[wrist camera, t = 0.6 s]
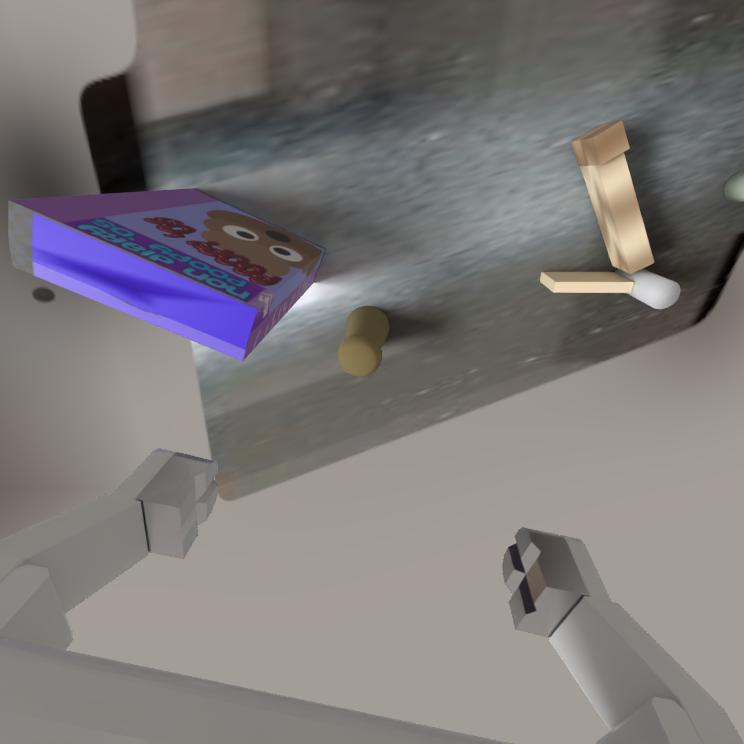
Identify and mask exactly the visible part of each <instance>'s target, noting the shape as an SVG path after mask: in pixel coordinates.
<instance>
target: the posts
mask: <svg viewBox="0 0 744 744" xmlns="http://www.w3.org/2000/svg"><path fill="white" fill-rule="evenodd" d="M724 196H725V198H726V199H728V200H730V201H737V202H744V170H743V171H740V172H737V173H736V174H734V175H733V176H732V177H731V178H730V179H729V180H728V181H727V183H726V184H725V187H724ZM540 282H541V283H542V284H544V285H545V286H546V287H547V288H549V289H550V290H551V291H552V292H571V293H627V294H629V295H631V296H633V297H635V298H637V299H638V300H640V301H642V302H644V303H646V304H647V305H649V306H651V307H653V308H655V309H664V308H667V307H669V306H671V305H672V304H674V303H675V302H676V300H677V299H678V298H679V295H680V286H679V285H678V284H677V283H676V282H674V281H671V280H669V279H666V278H664V277H662V276H659V275H657V274H654V273H652V272H649V271H647V270H644V269H640V270H638V271H636V272H634V273H632V274H629V273H627V272H625V271H623V270H620V269H617V270H616V271H615V272H542V273H541V278H540Z"/></svg>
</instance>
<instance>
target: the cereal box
mask: <svg viewBox="0 0 744 744" xmlns="http://www.w3.org/2000/svg"><path fill="white" fill-rule="evenodd" d="M8 213H9V214H8V218H9V219H8V224H9V225H8V238H9V247H10V252H11V257H12V264H13V267H15V268H17V269H20V270H22V271H24V272H27V273H29V274H32V275H34V276H37V277H39V278H41V279H44V280H46V281H49V282H51V283H54V284H56V285H58V286H61V287H63V288H66V289H68V290H71V291H73V292H76V293H78V294H80V295H83V296H85V297H88V298H90V299H92V300H95V301H97V302H100V303H102V304H105V305H107V306H109V307H112V308H114V309H117V310H119V311H122V312H124V313H127V314H129V315H131V316H134V317H136V318H139V319H141V320H144V321H146V322H149V323H151V324H153V325H156V326H158V327H160V328H163V329H165V330H168V331H171V332H173V333H175V334H177V335H180V336H182V337H185V338H187V339H190V340H192V341H194V342H197V343H199V344H202V345H204V346H207V347H209V348H211V349H214V350H216V351H219V352H221V353H224V354H226V355H228V356H231V357H233V358H236V359H238V360H241V361H243V360H244V359H245V358H246V357H247V356H248V355H249V354H250V353H251V351H252V350H253V349H254V348H255V347H256V346H257V345H258V344H259V343H260V341H261V340H262V339H263V338H264V337H265V336H266V335H267V334H268V333H269V332H270V330H271V329H272V328H273V327H274V326H275V325H276V324H277V323H278V322H279V320H280V319H281V318H282V317H283V316H284V315H285V314H286V313H287V312H288V310H289V309H290V308H291V307H292V306H293V305H294V304H295V303H296V302H297V300H298V299H299V298H300V297H301V296H302V295H303V294H304V293H305V292H306V290H307V289H308V288H309V287H310V286H311V285H312V284H313V283H314V280H315V277H316V274H317V271H318V268H319V266H320V263H321V260H322V257H323V254H324V252H325V249H324V248H322V247H320V246H318V245H316V244H313V243H311V242H309V241H307V240H305V239H302V238H300V237H298V236H296V235H294V234H292V233H289V232H287V231H285V230H283V229H281V228H278V227H276V226H274V225H272V224H270V223H268V222H265V221H263V220H261V219H259V218H257V217H255V216H252V215H250V214H248V213H246V212H244V211H241V210H239V209H237V208H235V207H233V206H231V205H228V204H226V203H224V202H222V201H220V200H217V199H215V198H213V197H211V196H209V195H207V194H204V193H202V192H200V191H198V190H196V189H178V190H162V191H146V192H130V193H114V194H98V195H83V196H67V197H51V198H36V199H20V200H9V212H8Z"/></svg>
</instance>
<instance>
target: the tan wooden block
mask: <svg viewBox="0 0 744 744" xmlns="http://www.w3.org/2000/svg"><path fill="white" fill-rule="evenodd" d="M571 143H572V146H573V149H574V152H575V155H576V158H577V161H578V164H579V166H580V167H581V170H582V173H583V176H584V179H585V183H586V186H587V189H588V192H589V195H590V198H591V201H592V204H593V207H594V210H595V213H596V217H597V220H598V223H599V226H600V229H601V232H602V235H603V238H604V241H605V244H606V248H607V251H608V254H609V257H610V260H611V263H612V266H614V267H616V268H618V269H620V270H623V271H625V272H627V273H629V274H632V273H634V272H636V271H638V270H640V269H643V268H645V267H647V266H649V265H651V264H653V263H654V259H653V256H652V252H651V249H650V245H649V241H648V238H647V234H646V230H645V227H644V223H643V219H642V216H641V212H640V209H639V205H638V201H637V198H636V194H635V190H634V187H633V183H632V180H631V176H630V172H629V169H628V165H627V161H626V158H625V154H624V152H625V151H626V150H628V149H630V147H629V144H628V140H627V136H626V132H625V129H624V125H623V121H622V120H621V121H617V122H613V123H609V124H605V125H601V126H597V127H595V128H594V129H592V130H591V131H589V132H587V133H586V134H584V135H582V136H581V137H579V138H577V139H576V140H574V141H572V142H571Z"/></svg>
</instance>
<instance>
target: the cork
mask: <svg viewBox="0 0 744 744" xmlns="http://www.w3.org/2000/svg"><path fill="white" fill-rule="evenodd" d="M388 333H389V321H388V318H387V317H386V315H385V314H384V313H383V312H382V311H381V310H379V309H378V308H375V307H372V306H363V307H360V308H357V309H356V310H354V311H353V312H352V313H351V315H350V316H349V317H348V321H347V328H346V339H344V341H343V342H342V343H341V345H340V348H339V351H338V358H339V362H340V365H341V367H342V368H343V369H344V370H345V371H346V372H348V373H349V374H351V375H354V376H360V377H364V376H368V375H370V374H372V373H373V372H375V371H376V369H377V368H378V367H379V366H380V363H381V361H382V350H381V348H382V346H383V344H384V342H385V340H386V338H387V336H388Z"/></svg>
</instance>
